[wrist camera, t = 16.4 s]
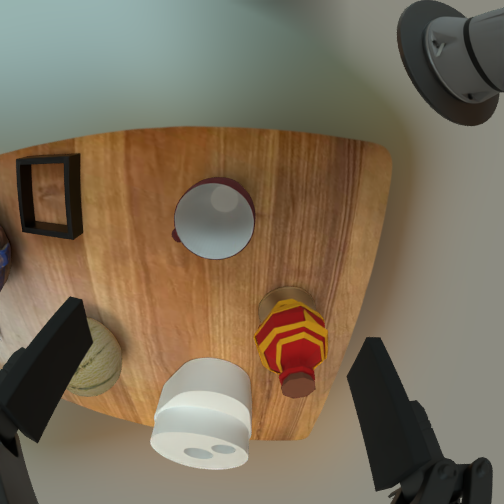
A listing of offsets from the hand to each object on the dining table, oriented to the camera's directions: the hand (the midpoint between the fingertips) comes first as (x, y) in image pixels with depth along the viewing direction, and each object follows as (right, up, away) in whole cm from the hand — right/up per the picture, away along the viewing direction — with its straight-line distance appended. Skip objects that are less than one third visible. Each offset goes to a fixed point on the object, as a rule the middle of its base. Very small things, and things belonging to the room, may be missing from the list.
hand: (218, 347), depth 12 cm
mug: (-3, +11, +25) cm, 27 cm away
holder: (-31, +14, +24) cm, 41 cm away
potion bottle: (+7, -5, +31) cm, 32 cm away
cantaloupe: (-28, -11, +35) cm, 47 cm away
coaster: (+7, -5, +31) cm, 33 cm away
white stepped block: (-8, -26, +42) cm, 50 cm away
